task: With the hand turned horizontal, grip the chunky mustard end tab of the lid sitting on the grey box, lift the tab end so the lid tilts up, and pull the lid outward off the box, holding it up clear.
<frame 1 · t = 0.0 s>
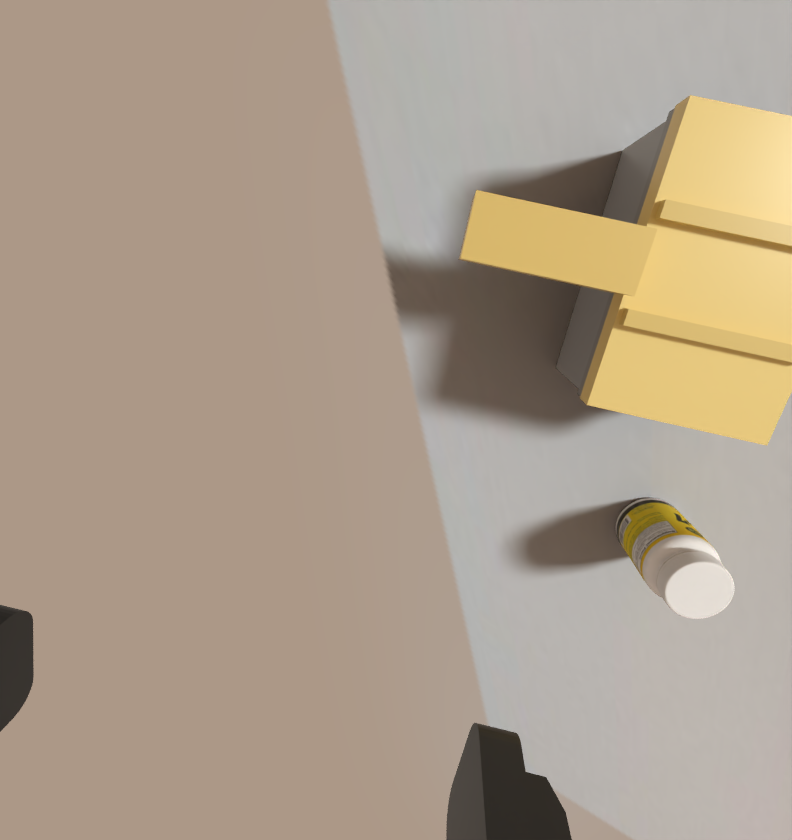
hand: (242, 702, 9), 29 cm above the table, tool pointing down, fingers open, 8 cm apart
lid: (716, 283, 26), point 8 cm above the table, touching grey box
supplement bottle: (645, 523, 39), on the table
grey box: (654, 280, 34), on the table
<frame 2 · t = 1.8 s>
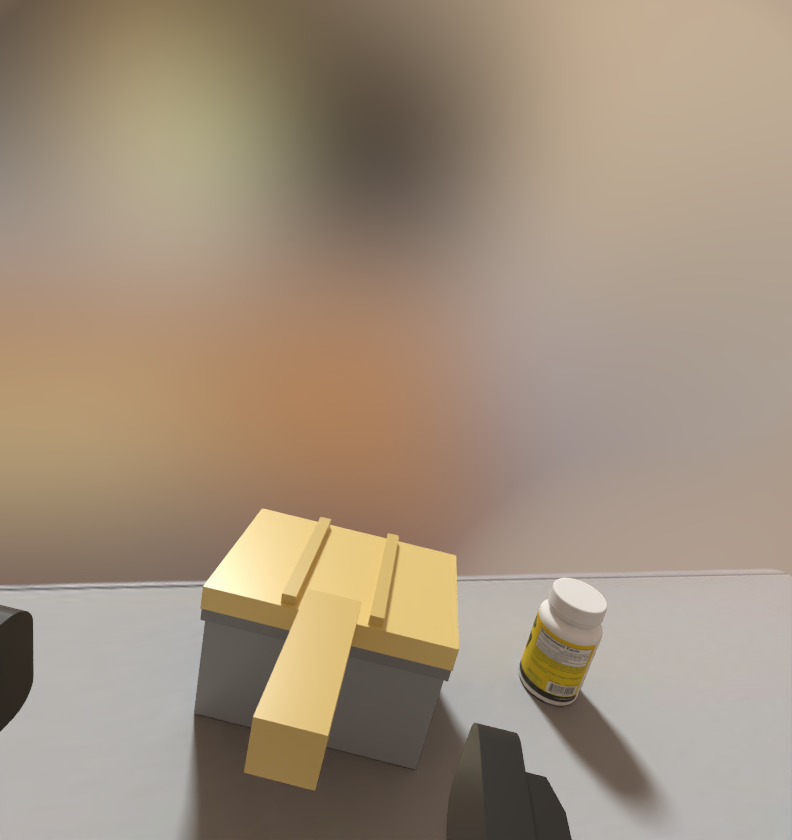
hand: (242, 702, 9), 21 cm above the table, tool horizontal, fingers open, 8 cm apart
lid: (342, 588, 33), point 8 cm above the table, touching grey box
supplement bottle: (546, 684, 40), on the table
grey box: (321, 683, 35), on the table
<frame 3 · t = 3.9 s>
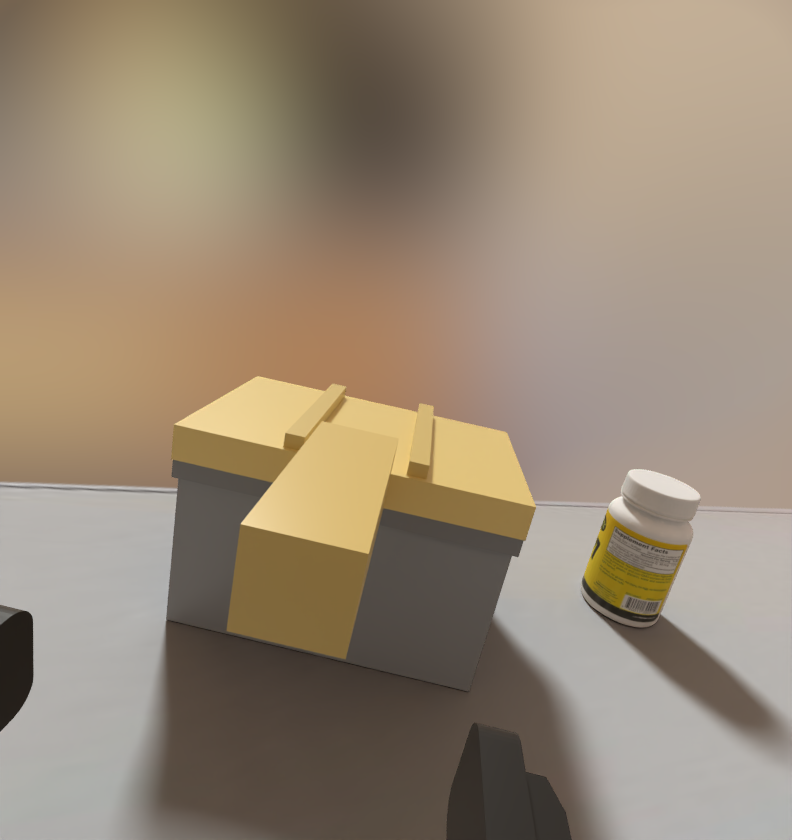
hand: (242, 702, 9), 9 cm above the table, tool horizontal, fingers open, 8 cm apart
lid: (364, 457, 25), point 8 cm above the table, touching grey box
supplement bottle: (615, 606, 32), on the table
grey box: (336, 594, 27), on the table
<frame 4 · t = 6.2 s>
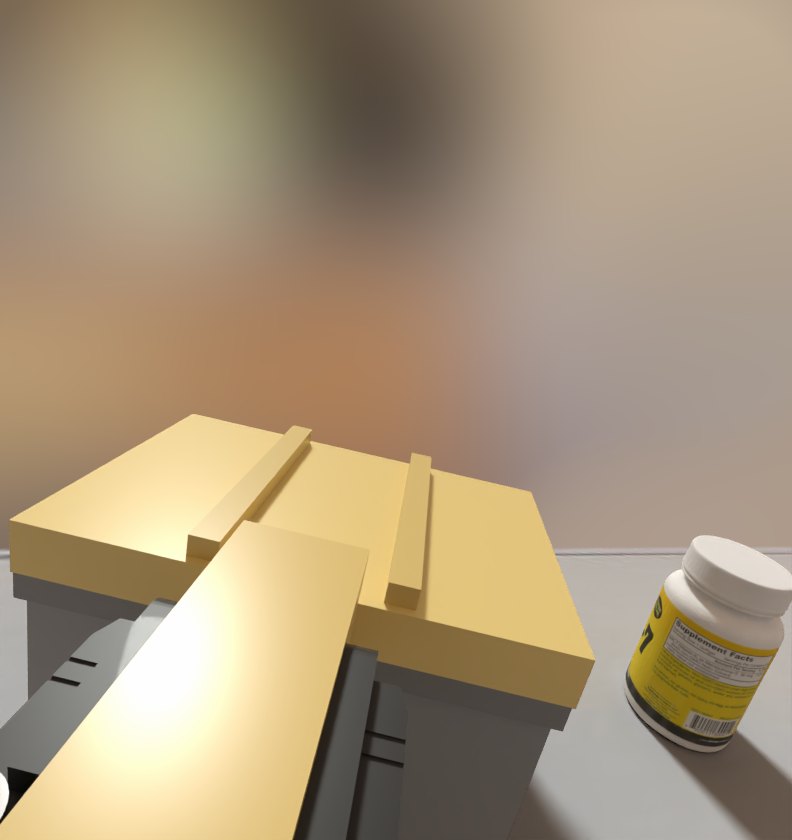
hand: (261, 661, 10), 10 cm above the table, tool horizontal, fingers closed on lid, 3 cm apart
lid: (329, 541, 17), point 8 cm above the table, touching gripper, grey box
supplement bottle: (670, 712, 24), on the table
grey box: (294, 721, 20), on the table
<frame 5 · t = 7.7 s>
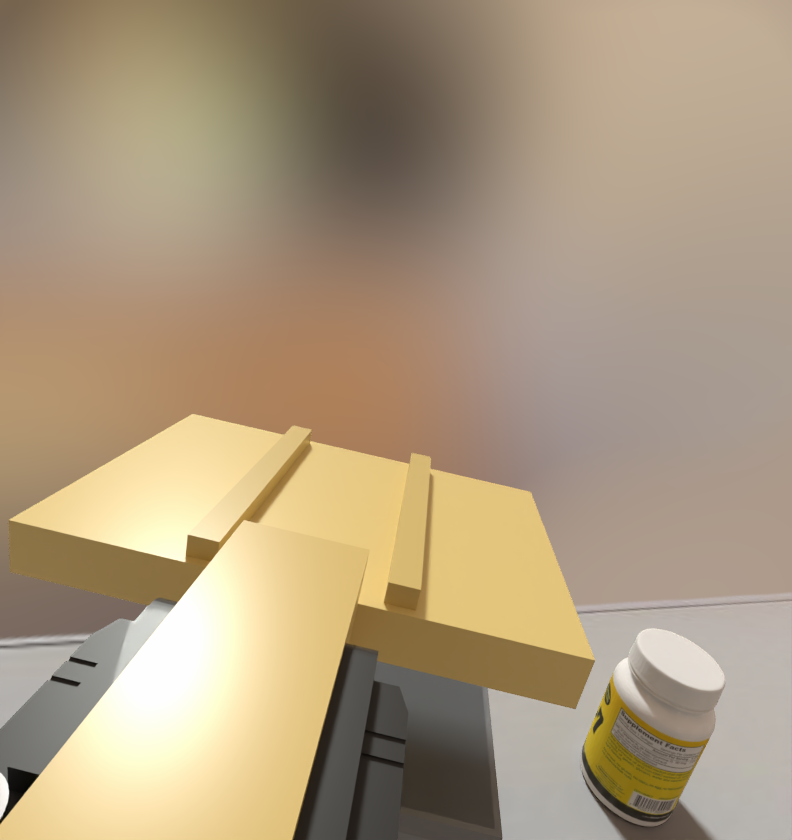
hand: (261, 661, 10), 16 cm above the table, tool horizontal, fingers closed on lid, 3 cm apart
lid: (329, 541, 17), point 14 cm above the table, touching gripper
supplement bottle: (621, 785, 27), on the table
grey box: (281, 809, 22), on the table
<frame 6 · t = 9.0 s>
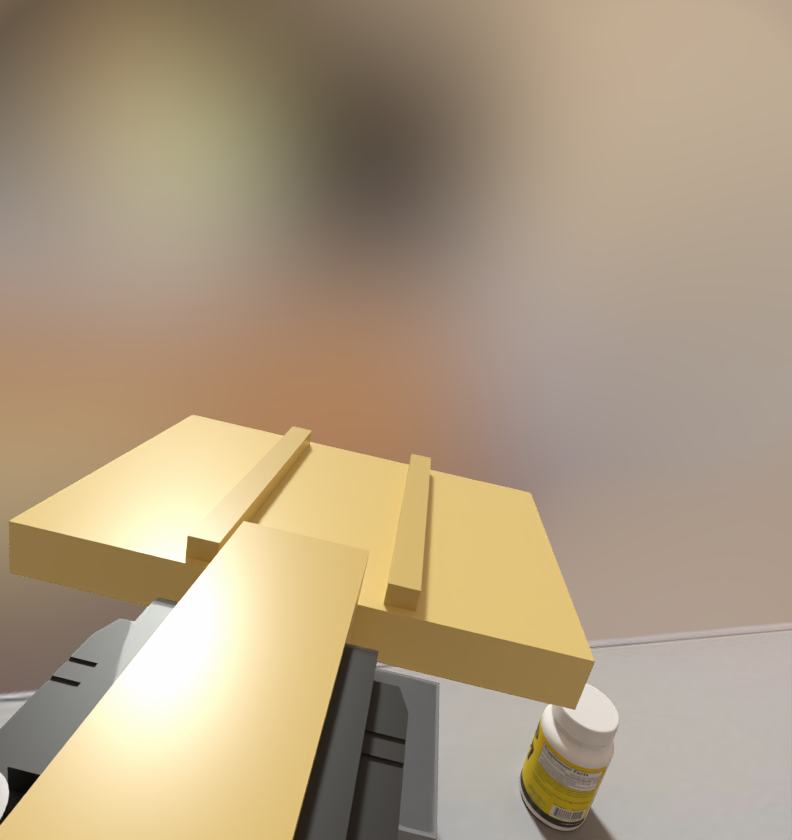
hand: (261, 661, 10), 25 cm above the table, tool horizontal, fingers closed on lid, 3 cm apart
lid: (329, 542, 17), point 24 cm above the table, touching gripper
supplement bottle: (550, 799, 36), on the table
grey box: (292, 818, 31), on the table
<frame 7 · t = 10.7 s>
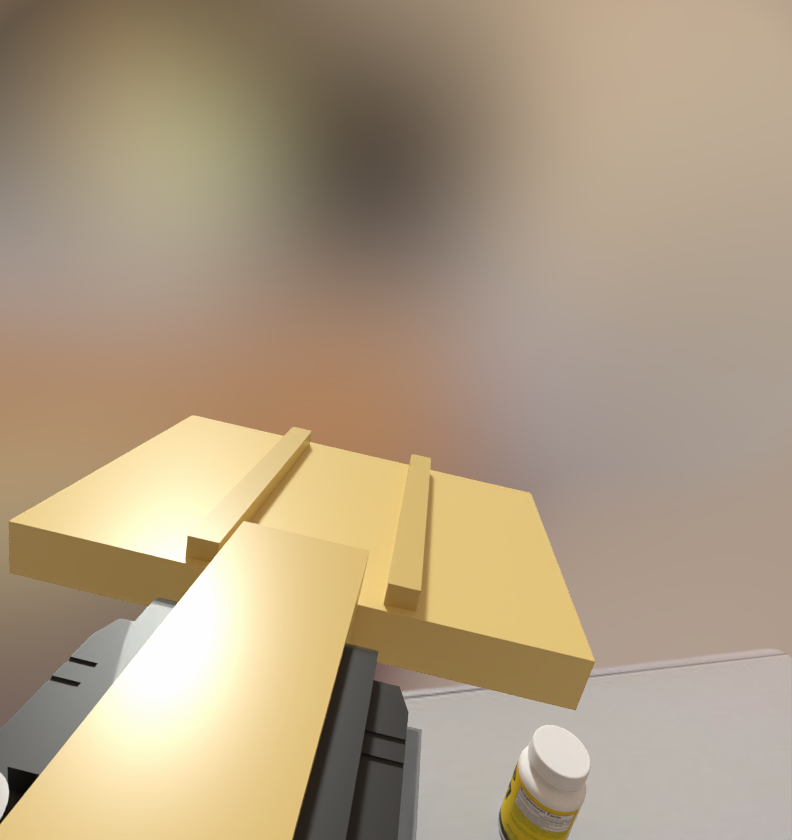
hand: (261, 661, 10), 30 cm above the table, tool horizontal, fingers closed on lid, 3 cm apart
lid: (329, 542, 17), point 28 cm above the table, touching gripper
supplement bottle: (527, 835, 38), on the table
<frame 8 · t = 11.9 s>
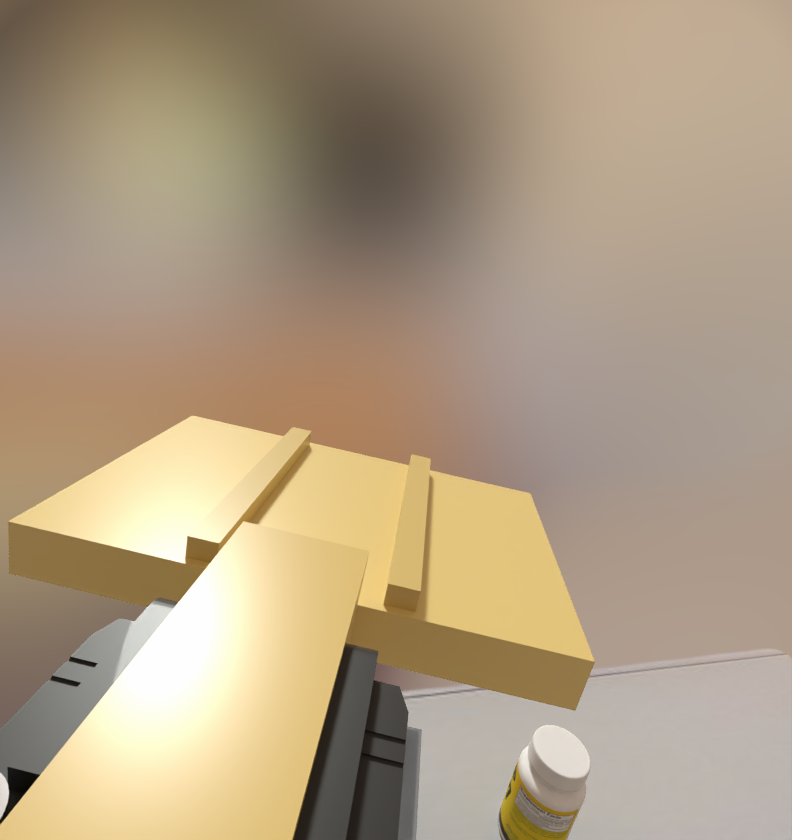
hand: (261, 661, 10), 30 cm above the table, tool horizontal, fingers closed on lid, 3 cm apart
lid: (329, 543, 17), point 28 cm above the table, touching gripper
supplement bottle: (527, 835, 38), on the table
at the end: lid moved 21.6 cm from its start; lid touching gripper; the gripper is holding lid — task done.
